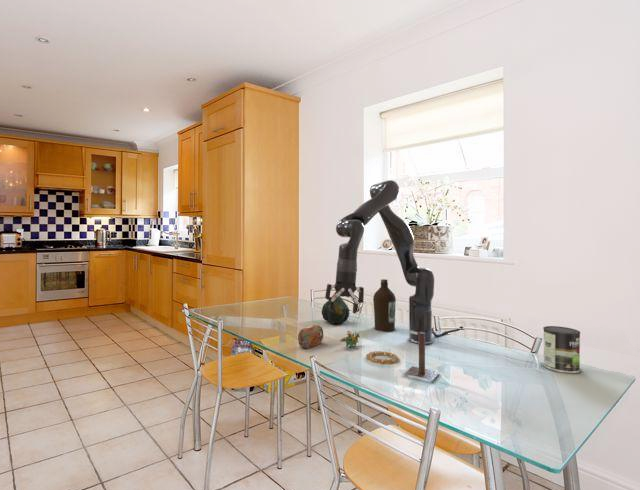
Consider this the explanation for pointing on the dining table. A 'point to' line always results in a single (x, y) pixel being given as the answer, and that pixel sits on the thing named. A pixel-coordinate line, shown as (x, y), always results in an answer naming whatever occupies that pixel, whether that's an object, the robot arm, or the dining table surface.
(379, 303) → the olive oil
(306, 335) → the reddish brown stone
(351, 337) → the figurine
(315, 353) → the dining table surface
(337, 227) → the robot arm
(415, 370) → the rack
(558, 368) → the coffee can
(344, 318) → the squash
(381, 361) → the brass ring
